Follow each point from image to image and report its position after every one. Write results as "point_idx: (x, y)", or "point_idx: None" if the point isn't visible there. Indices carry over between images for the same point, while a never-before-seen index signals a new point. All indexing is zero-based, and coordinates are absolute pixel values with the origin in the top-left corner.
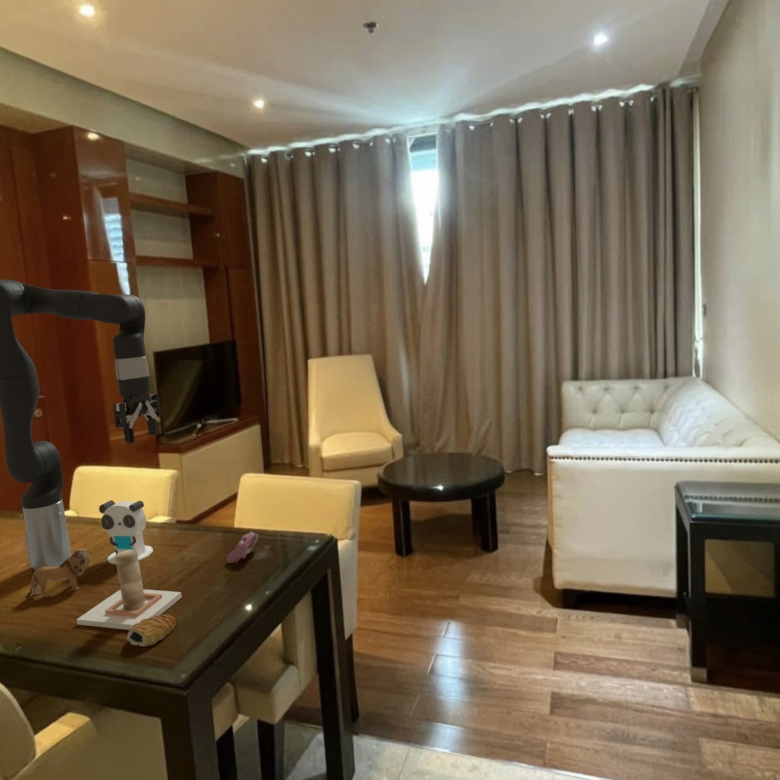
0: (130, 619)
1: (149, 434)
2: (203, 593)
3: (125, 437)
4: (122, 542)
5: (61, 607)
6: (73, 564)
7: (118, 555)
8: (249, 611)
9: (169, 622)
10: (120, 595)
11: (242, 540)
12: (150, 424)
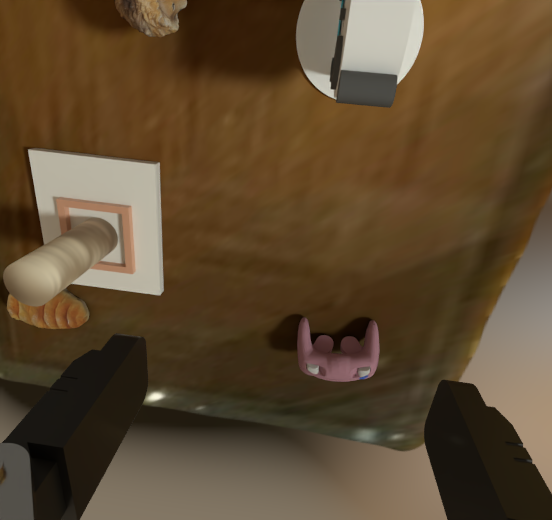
0: None
1: (445, 381)
2: (182, 320)
3: (62, 386)
4: (339, 23)
5: (74, 50)
6: (120, 12)
7: (16, 270)
8: (144, 400)
9: (61, 328)
10: (125, 181)
11: (321, 366)
12: (470, 503)
